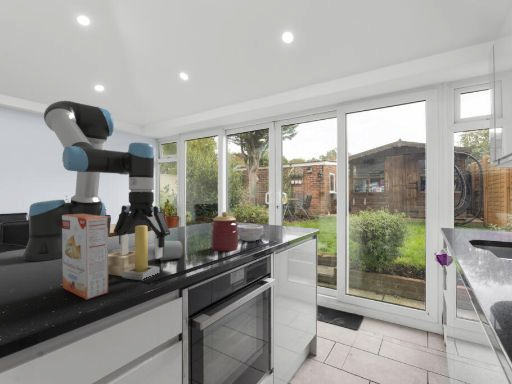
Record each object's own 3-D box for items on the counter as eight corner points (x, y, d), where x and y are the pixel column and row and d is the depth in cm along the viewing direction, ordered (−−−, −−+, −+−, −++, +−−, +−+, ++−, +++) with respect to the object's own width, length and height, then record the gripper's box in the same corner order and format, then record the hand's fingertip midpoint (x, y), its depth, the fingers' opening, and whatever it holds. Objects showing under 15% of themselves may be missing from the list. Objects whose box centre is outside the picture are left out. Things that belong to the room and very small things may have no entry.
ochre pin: (132, 276, 86) (132, 226, 86) (140, 273, 90) (140, 225, 90) (141, 277, 85) (142, 227, 85) (150, 274, 89) (150, 225, 89)
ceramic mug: (184, 259, 108) (184, 240, 108) (163, 262, 103) (163, 242, 103) (175, 254, 117) (175, 237, 117) (156, 257, 112) (156, 238, 112)
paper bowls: (268, 240, 150) (268, 226, 150) (244, 243, 142) (244, 228, 142) (254, 236, 163) (254, 223, 163) (232, 238, 155) (232, 225, 155)
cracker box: (60, 289, 75) (60, 214, 75) (84, 283, 80) (84, 213, 80) (84, 301, 67) (84, 217, 67) (109, 293, 72) (109, 215, 72)
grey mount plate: (121, 277, 85) (121, 271, 85) (139, 270, 93) (139, 264, 93) (142, 280, 83) (142, 273, 83) (159, 272, 90) (159, 266, 90)
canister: (236, 251, 122) (237, 213, 122) (208, 251, 122) (208, 212, 122) (239, 245, 135) (239, 210, 135) (213, 245, 135) (213, 210, 135)
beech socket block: (102, 273, 89) (102, 255, 89) (123, 266, 98) (123, 249, 98) (124, 276, 87) (124, 257, 87) (143, 268, 95) (143, 251, 95)
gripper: (101, 190, 88) (101, 255, 88) (167, 191, 80) (166, 262, 80) (119, 190, 95) (119, 250, 95) (181, 191, 87) (181, 256, 87)
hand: (141, 256), depth 88 cm, fingers open, 13 cm apart
